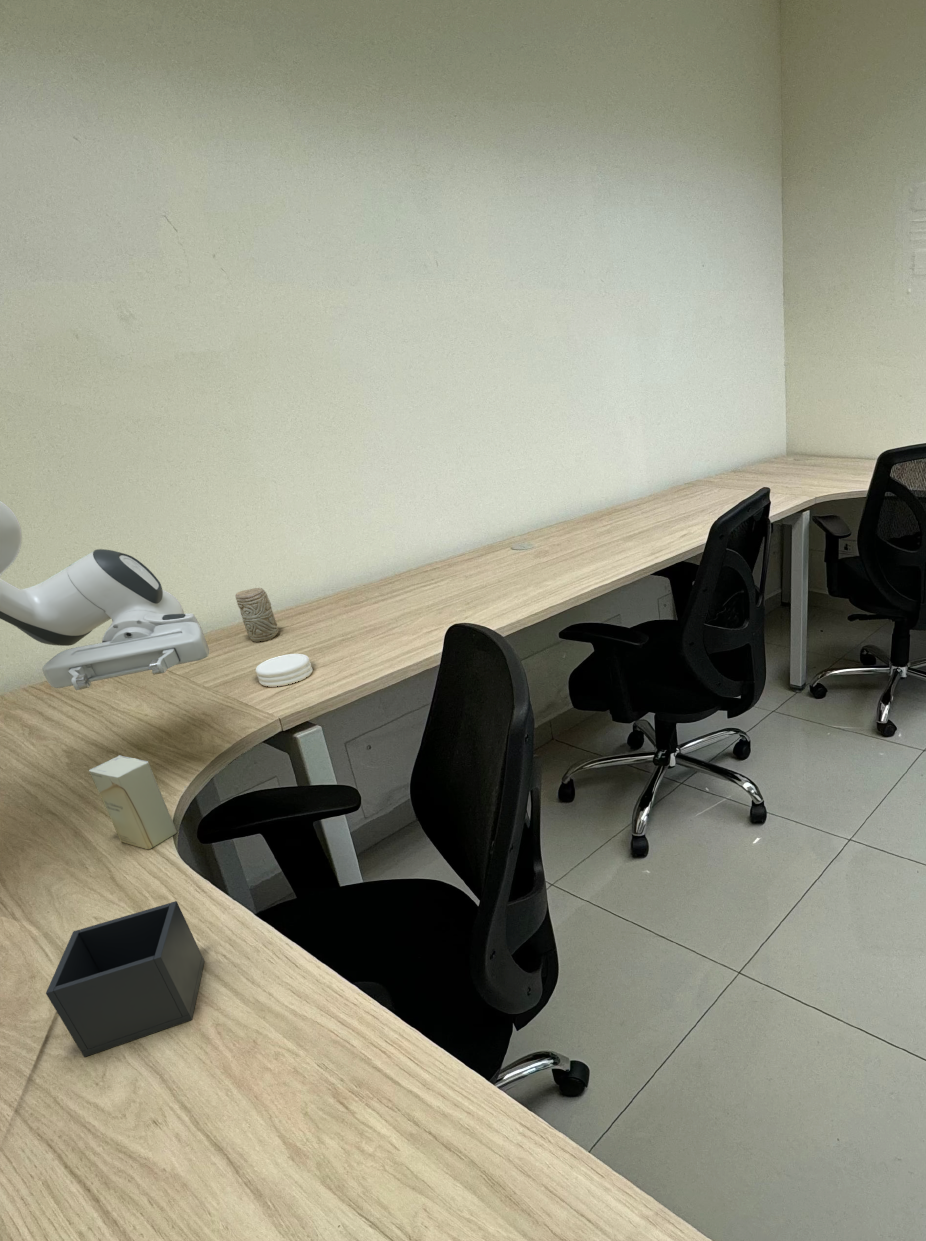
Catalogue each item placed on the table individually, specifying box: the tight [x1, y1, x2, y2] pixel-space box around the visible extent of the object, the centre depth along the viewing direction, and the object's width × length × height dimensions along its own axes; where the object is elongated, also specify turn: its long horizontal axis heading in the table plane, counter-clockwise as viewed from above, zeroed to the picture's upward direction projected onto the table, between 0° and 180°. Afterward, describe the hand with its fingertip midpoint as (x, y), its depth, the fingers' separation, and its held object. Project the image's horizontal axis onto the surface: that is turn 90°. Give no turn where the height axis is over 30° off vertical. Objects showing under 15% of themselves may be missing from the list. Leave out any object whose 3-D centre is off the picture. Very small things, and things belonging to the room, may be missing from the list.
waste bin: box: [45, 900, 205, 1058], centre depth 79 cm, size 9×9×9 cm
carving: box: [234, 587, 279, 643], centre depth 179 cm, size 6×8×12 cm
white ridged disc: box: [255, 653, 313, 688], centre depth 158 cm, size 10×10×4 cm
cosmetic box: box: [88, 755, 178, 850], centre depth 106 cm, size 6×4×12 cm
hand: (118, 677), depth 110 cm, fingers open, 8 cm apart
